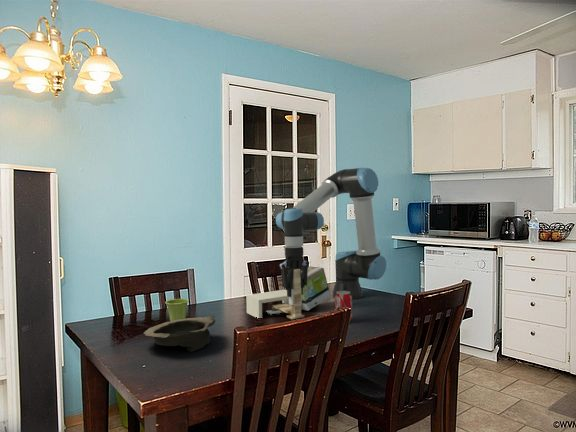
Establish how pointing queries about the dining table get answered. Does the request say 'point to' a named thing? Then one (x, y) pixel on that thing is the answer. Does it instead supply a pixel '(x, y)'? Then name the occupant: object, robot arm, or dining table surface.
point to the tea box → (315, 288)
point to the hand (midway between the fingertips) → (295, 303)
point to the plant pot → (177, 309)
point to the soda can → (343, 300)
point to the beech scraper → (296, 308)
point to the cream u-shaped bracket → (264, 301)
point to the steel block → (273, 312)
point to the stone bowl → (183, 332)
